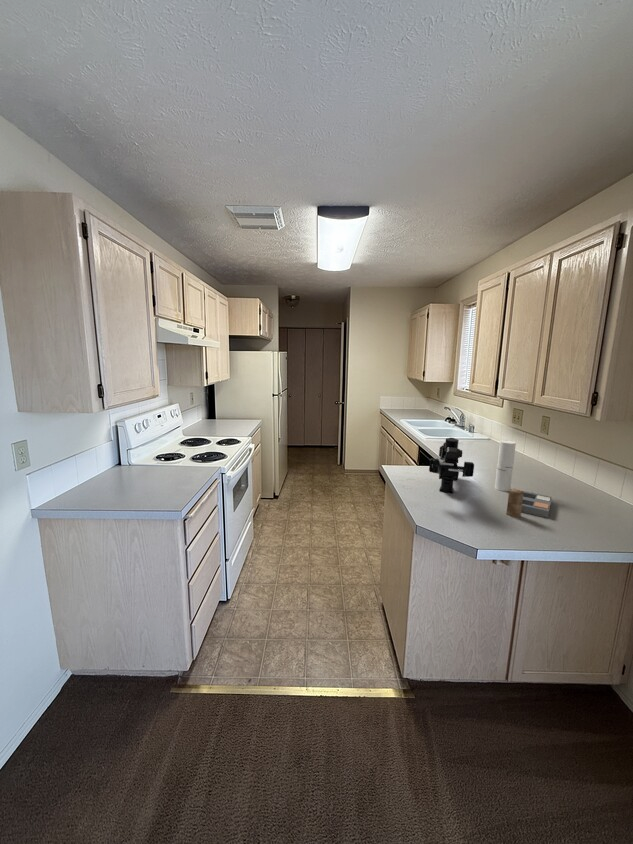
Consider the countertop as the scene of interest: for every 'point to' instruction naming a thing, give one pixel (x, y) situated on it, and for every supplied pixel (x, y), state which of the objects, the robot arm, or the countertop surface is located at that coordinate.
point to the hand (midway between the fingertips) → (451, 474)
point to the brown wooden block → (515, 503)
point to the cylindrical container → (505, 465)
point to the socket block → (536, 504)
